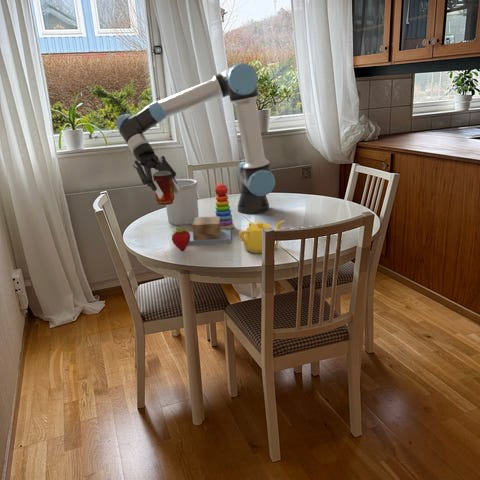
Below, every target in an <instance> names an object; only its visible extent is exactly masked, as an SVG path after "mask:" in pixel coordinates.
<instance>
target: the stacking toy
mask: <svg viewBox="0 0 480 480" xmlns="http://www.w3.org/2000/svg"><path fill="white" fill-rule="evenodd" d="M214 191H215V192H214V193H215V194H216V196H215V200H216V201H215V212H214V213H215V216H214V217H216V216H220V223H221V230H230V229H231V230H232V229H233V228H234V226H235V225H234V223H233V222H234V219H233V214H232V210H231V206H230V202H229V200H228V199H229V196H228V195H227V194H228V192H229V191H228V187H227V186H226V184H224V183H219V184H217V185H216V186H215V189H214Z"/></svg>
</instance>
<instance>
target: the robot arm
mask: <svg viewBox="0 0 480 480" xmlns="http://www.w3.org/2000/svg"><path fill="white" fill-rule="evenodd" d="M258 77H259V76H258V72H257V70H256V69H255V68H254V67H253V66H251V65H250V64H248V63H245V62H238V63H236V64H234V65H231V66H228V68H226V69H224V70H223V71H221V72H220V73H217V74H215V75H213V77H212V79H209V80H207V81H205V82H202V83H200V84H197V85H195V86H192V87H190V88H186V89H185V90H182V91H181V92H178V93H175V94H172V95H170V96H167V97H166V98H162V99H160V100H158V101H156V100H155V101H153V102H152V103H149V104H147V105H144V107H142V109H141V110H140V111H138V112H137V113H136V114H133V115H131V114H130V113H125V114H121V115H120V116H119V117H117V119H116V121H115V125H116V129H118V132H119V133H120V135H121V137H122V138H123V140H124V141H125V143H126V145H127V146H128V148H129V149H130V151H131V152H132V154H133V155H134V158H135V159H136V160H134V162H133V165H132V166H133V168H134V169H135V170H136V172H137V174H138V176H139V178H140V180H141V182H142V185H144V186H147V187H150V188H151V190H152V191H153V192H154V193H155V192H156V194H157V195H158V197H159V199H161V198H162V196H163V192H162V191H161V189H160V188H159V186H158V184H157V183H156V181H154V178H153V174H152V170H151V169H155V171H157V172H158V171H170V172H171V173H172V180H173V190H174V192H175V194H176V195H177V194H178V193H179V191H180V189H179V187H178V186H177V182H176V178H175V177H176V176H177V173H176V171H175V170H174V169H173V167H172V166H171V165H170V164H169V162H168V161H167V159H166V157H165V156H164V155H162V156H161V157H160V156H157V154H155V151H154V148H153V147H152V145H151V144H150V142H149V141H148V139H147V138H146V136H145V134H144V133H145V132H147V131H148V130H150V129H151V128H153V127H155V126H156V125H157V124H160V122H162V121H163V120H165V119H167V118H170V117H172V116H175V115H177V114H180V113H183V112H185V111H188V110H189V109H192V108H195V107H197V106H199V105H202V104H205V103H207V102H210V101H212V100H214V99H217V98H221V99H223V98H224V97H229V100H230V103H231V104H233V105H234V107H235V113H236V117H237V119H236V120H237V123H238V129H239V133H240V139H241V145H242V151H243V155H244V161H243V162H242V161H241V162H240V163H239V164H238V165H239V168H238V171H239V185H240V186H239V187H240V195H239V199H238V203H237V211H238V212H239V213H241V214H242V213H243V214H261V213H265V212H268V211H269V210H270V202H269V200H268V197H267V195H269V194H270V193H271V192H272V191H273V190H274V188H275V185H276V179H275V175H274V174H273V173H272V170H271V163H270V161H269V160H268V159H267V158H266V155H265V150H264V143H263V138H262V132H261V126H260V120H259V114H258V107H257V103H256V101H257V98H258V97H259V92H258V84H259V78H258Z"/></svg>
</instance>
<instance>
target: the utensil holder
mask: <svg viewBox="0 0 480 480" xmlns="http://www.w3.org/2000/svg"><path fill="white" fill-rule="evenodd" d="M175 180H176V182H177V186H178V187H179V189H180V191H179V193H178V194H177V195H176V194H175V192H174V200H173V203H172V204H169V205H165V207H166V214H167V219H168V223H170V224H172V225H175V226H177V225H178V226H179V225H180V226H182V225H190V224H193V222H194V219H195V217H200V215H199V202H198V200H199V199H198V187H197V186H198V181H197V180H196V179H193V178H192V179H191V178H177V179H176V178H175Z"/></svg>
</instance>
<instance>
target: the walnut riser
mask: <svg viewBox="0 0 480 480" xmlns="http://www.w3.org/2000/svg"><path fill="white" fill-rule="evenodd" d="M215 216H216V215H215ZM215 216H199V217H195V219H194V222H193V223H192V225H191V226H192V231H193V238H194V240H206V239H220V234H221V223H220V216H216V217H215Z"/></svg>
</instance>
